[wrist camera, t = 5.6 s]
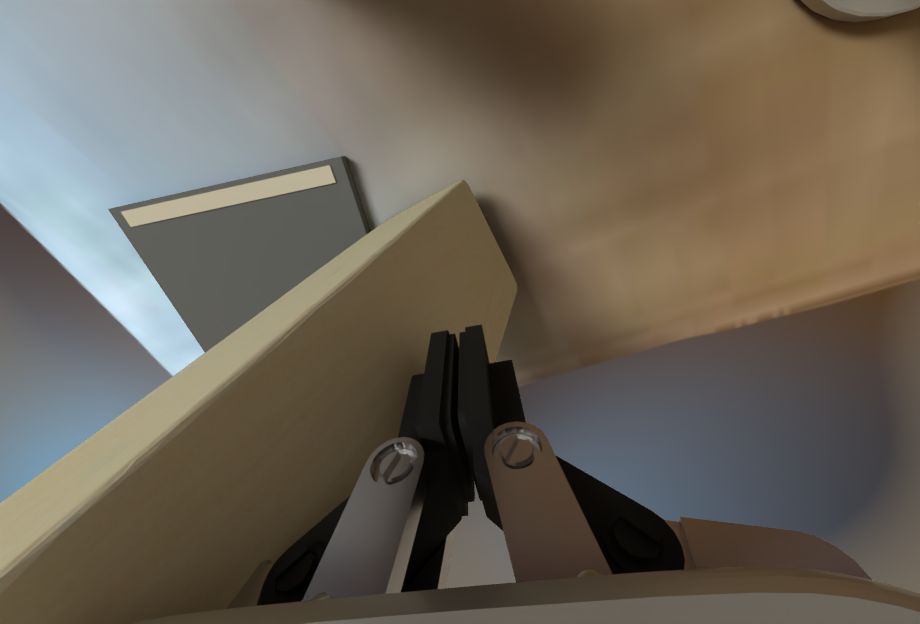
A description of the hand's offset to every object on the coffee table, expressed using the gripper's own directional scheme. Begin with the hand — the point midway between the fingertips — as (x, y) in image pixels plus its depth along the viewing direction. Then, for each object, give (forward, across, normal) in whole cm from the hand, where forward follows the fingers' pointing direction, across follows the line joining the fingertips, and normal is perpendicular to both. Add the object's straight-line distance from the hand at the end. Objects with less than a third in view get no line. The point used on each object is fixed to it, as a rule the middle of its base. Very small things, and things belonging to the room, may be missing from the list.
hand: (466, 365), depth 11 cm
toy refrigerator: (+13, +1, 0) cm, 13 cm away
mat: (+13, +14, 0) cm, 20 cm away
